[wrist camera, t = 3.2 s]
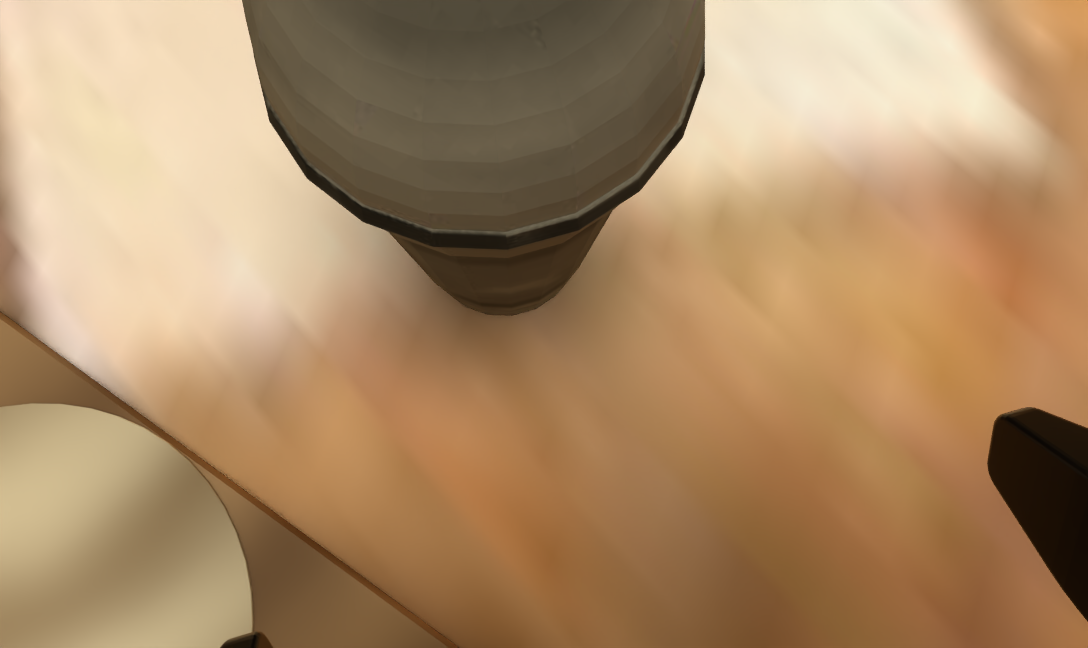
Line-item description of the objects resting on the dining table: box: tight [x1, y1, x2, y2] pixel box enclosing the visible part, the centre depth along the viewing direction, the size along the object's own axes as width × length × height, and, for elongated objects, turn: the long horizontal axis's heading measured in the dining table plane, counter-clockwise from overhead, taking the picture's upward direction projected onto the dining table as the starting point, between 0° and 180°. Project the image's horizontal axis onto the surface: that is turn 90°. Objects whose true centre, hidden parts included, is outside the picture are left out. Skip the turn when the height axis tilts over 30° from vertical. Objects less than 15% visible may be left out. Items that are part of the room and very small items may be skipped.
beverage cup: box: [242, 0, 705, 315], centre depth 15 cm, size 7×7×20 cm
